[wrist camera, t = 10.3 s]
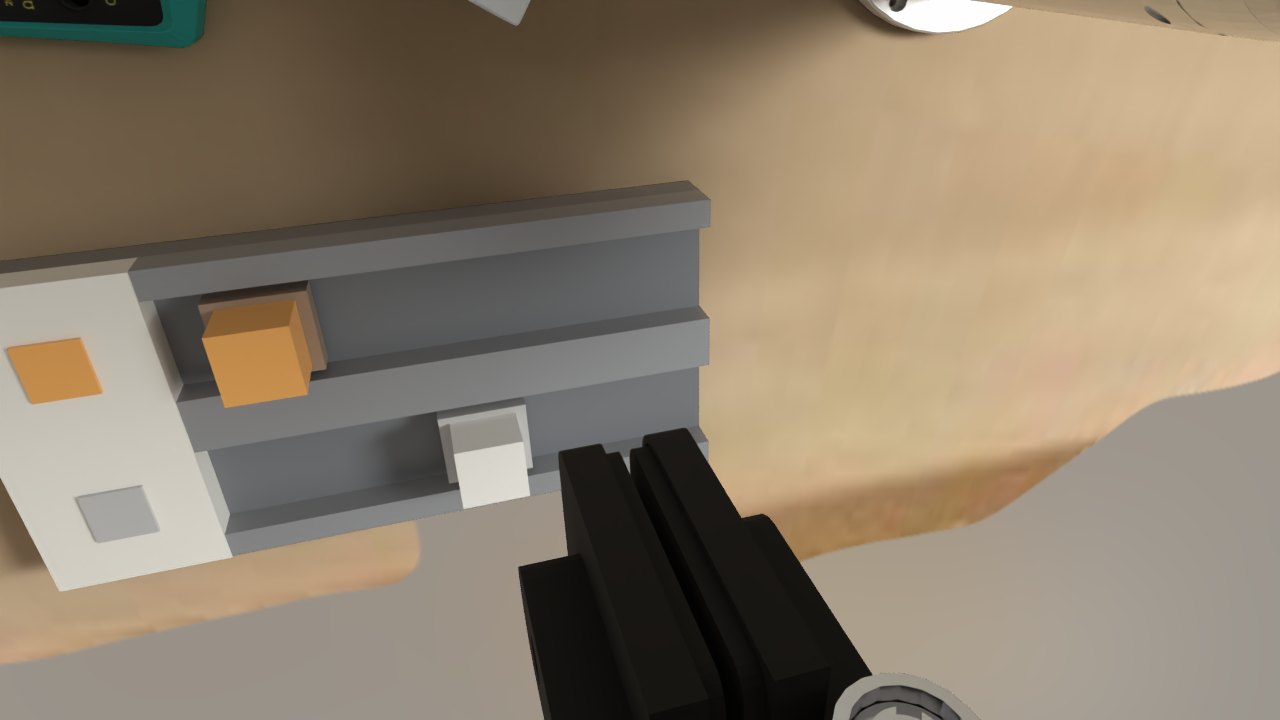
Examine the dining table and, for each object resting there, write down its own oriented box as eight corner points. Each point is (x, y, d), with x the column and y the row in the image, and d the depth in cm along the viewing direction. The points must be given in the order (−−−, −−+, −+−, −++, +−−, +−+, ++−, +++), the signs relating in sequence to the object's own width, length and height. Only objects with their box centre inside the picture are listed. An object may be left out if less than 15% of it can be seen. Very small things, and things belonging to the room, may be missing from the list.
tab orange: (308, 279, 33) (300, 317, 30) (327, 356, 35) (322, 399, 32) (203, 293, 32) (184, 333, 29) (228, 371, 34) (213, 416, 31)
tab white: (521, 391, 38) (533, 433, 35) (529, 453, 40) (541, 498, 37) (435, 406, 38) (440, 450, 34) (447, 469, 39) (453, 516, 36)
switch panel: (688, 180, 38) (712, 201, 35) (689, 430, 45) (710, 464, 42) (-53, 267, 31) (-96, 301, 28) (82, 545, 38) (58, 594, 35)
